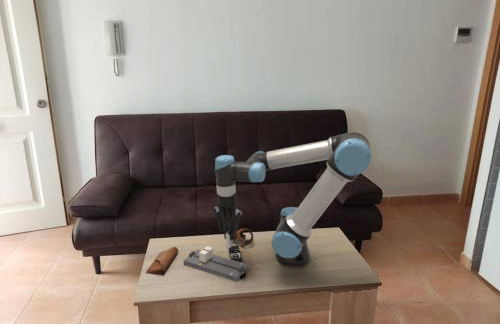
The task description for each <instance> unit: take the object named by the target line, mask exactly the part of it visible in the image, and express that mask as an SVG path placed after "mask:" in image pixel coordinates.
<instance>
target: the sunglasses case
mask: <svg viewBox="0 0 500 324" xmlns="http://www.w3.org/2000/svg"><path fill="white" fill-rule="evenodd" d="M178 253H179V248H178V247H177V246H173V247H171V248H168V249H167V250H163V251H161V252H159V253H158V255H157V256H156V257H155V259H154V260H153V262H152V263H151V264H150V265H149V267H148V268H147V269H146V271H145V274H146V275H147V274H148V275H149V274H150V275H157V276H164V275H165V274H166V272H167V271H168V269H169V268H170V265H171V264H172V262H173V261H174V259H175V258H176V256H177V255H178Z"/></svg>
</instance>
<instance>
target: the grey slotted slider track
mask: <svg viewBox="0 0 500 324" xmlns="http://www.w3.org/2000/svg"><path fill="white" fill-rule="evenodd" d="M201 251H202V250H200V249H196V250H192V251H190V253H188V256H187V257H186V258H185V259H183V265H185V266H188V267H190V268H193V269H198V270H199V271H203V272H206V273H209V274H212V275H215V276H218V277H221V278H224V279H227V280H230V281H233V282H236V283H237V282H238V281H239V280H240V279H241V278H240V276H241V274H242V273H243V272H244V271H245V273H247V272H248V270H249V269H250V268H249V267H250V266H249V264H246V263H244V262H241V261H237V260H234V259H231V258H227V257H224V256H220V255H217V254H214V253H213V257H212V258H211V259H209V260H208V261H207V262H206V263H204V262H201V261H199V252H201Z"/></svg>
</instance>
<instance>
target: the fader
mask: <svg viewBox="0 0 500 324" xmlns="http://www.w3.org/2000/svg"><path fill="white" fill-rule="evenodd" d="M213 254H214V247H211V246H208V245H207V246H205V247H204V248H203V249H202V250H201V252H199V261H201V262H204V263H206V262H207V261H208V260H209V259H211V258H212V257H213Z"/></svg>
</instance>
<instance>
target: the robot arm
mask: <svg viewBox="0 0 500 324" xmlns="http://www.w3.org/2000/svg"><path fill="white" fill-rule="evenodd" d="M214 160H215V161H214V163H215V164H214V166H215V168H214V170H215V181H216V194H217V196H216V198H217V199H216V200H217V206H215V207H214V208H212V211H213V214H214V215H215V218H216V222H217V226H218V229H219V231H220V232H223V237H224V239H225V242H226V244H225V245H226V248H227V249H231V248H232V247H233V246H234V242H233V239H234V233H236V232H237V231H238V230H239V227H240V226H239V225H240V220H241V216H242V215H243V210H240V209H238V206H237V193H236V188H237V187H236V182H247V183H248V182H250V183H262V182H263V181H264V180H265V179H266V178H265V177H266V171H270V170H276V169H281V168H286V167H287V168H288V167H292V166H297V165H298V166H299V165H304V164H310V163H315V162H321V161H326V160H327V161H326V169H325V171H324V172H323V173H322V174H321V176H320V178H318V180H317V181H316V183H315V184H314V186H313V187H312V188H311V189H310V190H309V192H308V194H307V195H306V196H305V198H303V200H302V202H301V203H300V204H299V206H298V207H295V206H289V207H287V206H286V207H284V208H282V209H281V211H280V220H279V223H278V225H277V228H276V230H275V232H274V234H273V236H272V238H271V246H272V249H273V251H274V252H275V255H274V256H275V260H276V261H277V263H280V264H281V265H283V266H287V267H292V268H294V267H295V268H297V267H298V268H299V267H303V266H305V265H308V263H309V262H310V260H311V252H310V249H309V246H308V240H309V238H310V237H311V235H312V234H313V231H312V228H313V226H314V225H316V223H317V221H318V220H319V219H320V218H321V216H322V215H323V214H324V212H325V211H326V210H327V208H328V207H329V206H330V205H331V203H333V201H334V199H335V198H336V197H337V196H338V194H339V193H340V192H341V190H342V189H343V188H344V187H345V185H346V184H347V183H349V182H354V181H355V180H356V178H357V177H358V175H361V174H362V173H363V172H365V171H366V170H367V169H368V167H369V166H370V163H371V160H372V152H371V146H370V142H369V140H368V138H367V137H366V136H365V135H364V134H362V133H359V132H355V131H353V132H346V133H342V134H338V135H334V136H330V137H329V138H328V139H327V140H321V141H317V142H310V143H305V144H301V145H296V146H291V147H285V148H280V149H275V150H271V151H270V150H269V151H266V152H265V151H256V152H254V153H253V154H252V155H251V156H250V157H249V158H248V159H247V161H235V157H234V156H233V155H230V154H229V155H228V154H223V155H218V156H217V157H216V158H215V159H214ZM234 216H235V218H234Z"/></svg>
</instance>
